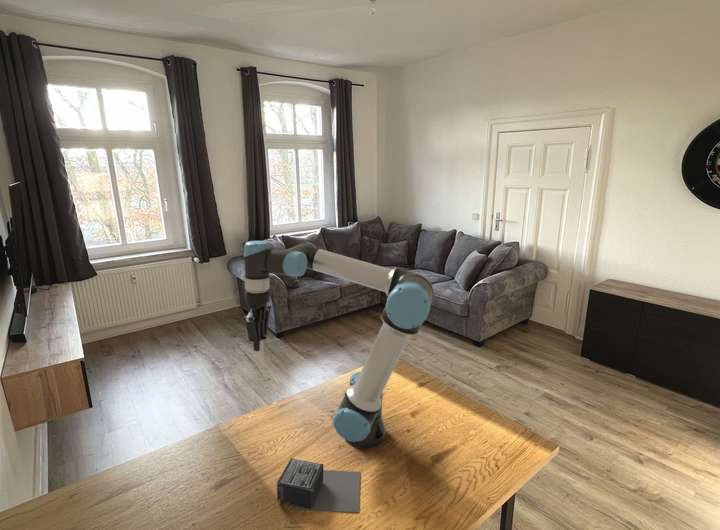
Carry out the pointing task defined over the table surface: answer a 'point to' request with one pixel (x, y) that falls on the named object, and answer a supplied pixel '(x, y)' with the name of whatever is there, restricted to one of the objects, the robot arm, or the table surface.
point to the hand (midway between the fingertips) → (258, 358)
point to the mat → (336, 493)
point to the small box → (300, 483)
